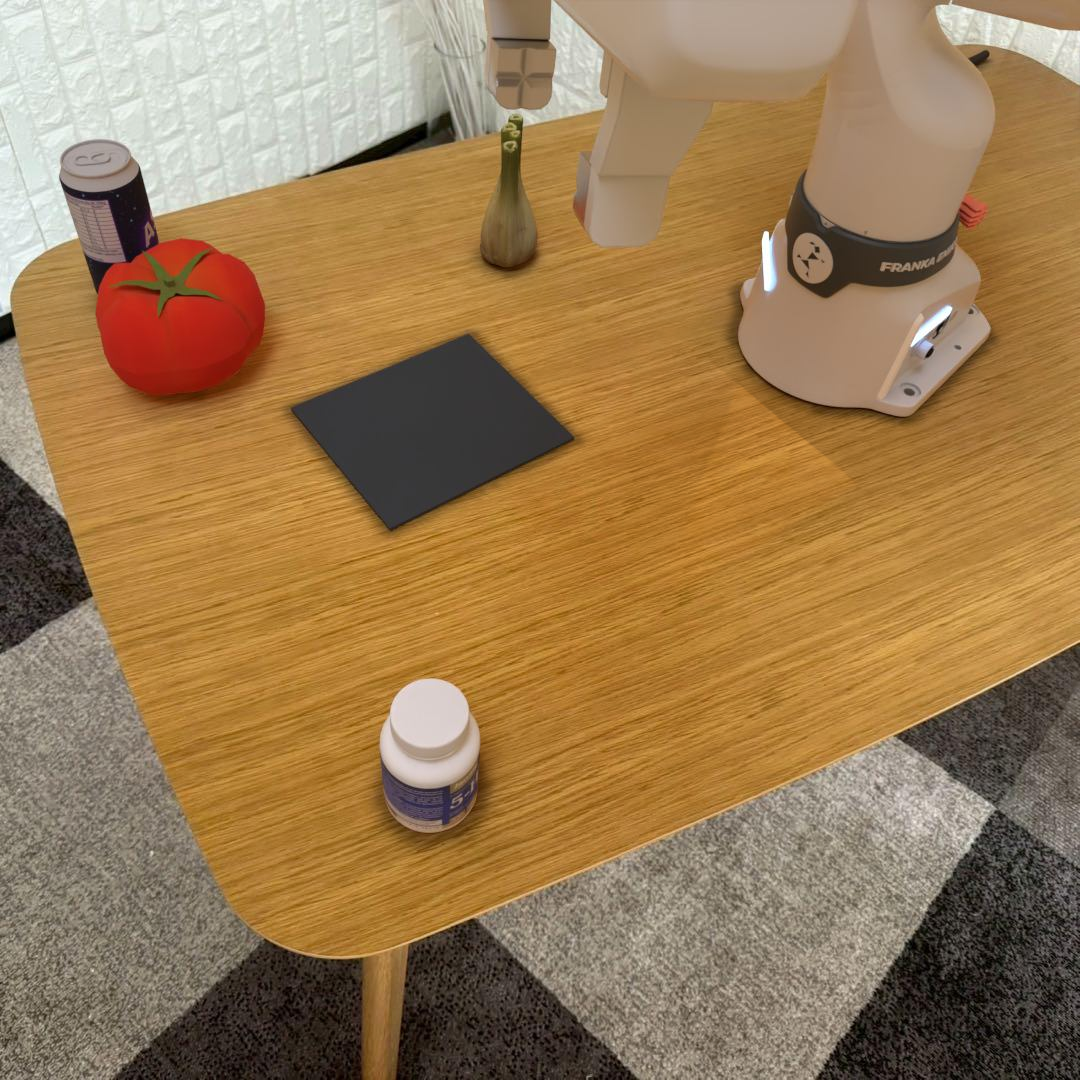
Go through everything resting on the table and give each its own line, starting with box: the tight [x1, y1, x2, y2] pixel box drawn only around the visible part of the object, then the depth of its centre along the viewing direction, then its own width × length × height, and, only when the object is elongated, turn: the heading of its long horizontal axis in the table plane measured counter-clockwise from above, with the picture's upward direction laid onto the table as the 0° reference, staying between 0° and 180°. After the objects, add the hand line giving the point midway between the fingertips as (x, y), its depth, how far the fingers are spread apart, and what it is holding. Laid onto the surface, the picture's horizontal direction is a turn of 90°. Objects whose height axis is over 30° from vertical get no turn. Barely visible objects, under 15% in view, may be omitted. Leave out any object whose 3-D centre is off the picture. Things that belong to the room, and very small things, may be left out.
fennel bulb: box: [479, 113, 539, 268], centre depth 85 cm, size 6×5×12 cm
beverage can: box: [58, 138, 160, 295], centre depth 78 cm, size 6×6×12 cm
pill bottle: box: [379, 677, 481, 834], centre depth 54 cm, size 5×5×9 cm
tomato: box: [95, 237, 266, 397], centre depth 75 cm, size 13×12×8 cm
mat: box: [290, 333, 575, 532], centre depth 76 cm, size 16×14×1 cm
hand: (559, 160), depth 28 cm, fingers open, 8 cm apart
